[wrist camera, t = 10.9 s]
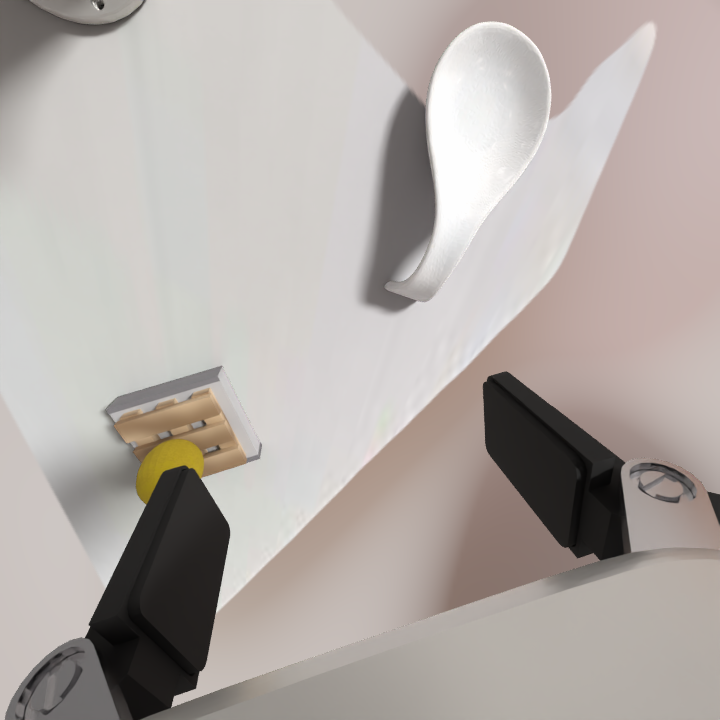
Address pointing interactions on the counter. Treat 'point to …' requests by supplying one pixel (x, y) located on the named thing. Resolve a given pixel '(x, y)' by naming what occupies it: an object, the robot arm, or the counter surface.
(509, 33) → the spoon rest
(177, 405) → the pallet
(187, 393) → the dock
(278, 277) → the counter surface
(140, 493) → the lemon
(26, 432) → the counter surface
